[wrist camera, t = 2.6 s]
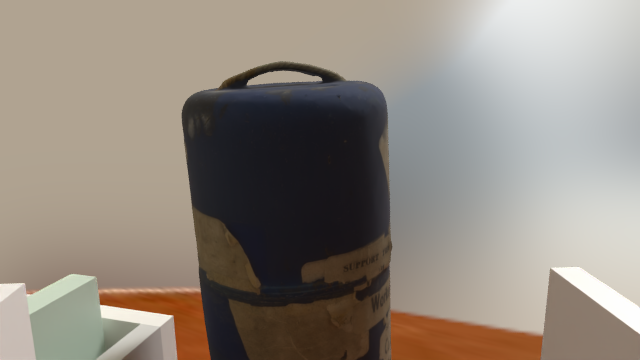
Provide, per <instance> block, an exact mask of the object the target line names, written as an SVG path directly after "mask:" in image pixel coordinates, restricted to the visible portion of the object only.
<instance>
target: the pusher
mask: <svg viewBox="0 0 640 360" xmlns="http://www.w3.org/2000/svg"><path fill="white" fill-rule="evenodd" d="M27 302H28V309H29V316H30V322H31V329H32V336H33V343H34V349H35V356H36V360H96V359H97V358H98V357H99V356H101V355H102V354H103V353H105V352H106V348H105V340H104V333H103V325H102V317H101V309H100V302H99V294H98V286H97V279H96V277H92V276H84V275H77V274H70V275H68V276H67V277H65V278H63V279H61V280H59V281H57V282H55V283H53V284H51V285H49V286H47V287H45V288H44V289H42V290H40V291H38V292H36V293H34V294H32V295H30V296H28V297H27Z"/></svg>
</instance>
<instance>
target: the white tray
mask: <svg viewBox="0 0 640 360" xmlns="http://www.w3.org/2000/svg"><path fill="white" fill-rule="evenodd" d="M26 296H27V297H28V296H30V295H29V294H26ZM100 309H101V317H102V325H103V333H104V340H105V348H106V352H105V353H103V354H102V355H101V356H99V357H98V358H97V359H96V360H177V352H176V341H175V330H174V319H173V316H171V315H164V314H157V313H150V312H144V311H137V310H130V309H124V308H117V307H110V306H103V305H100Z"/></svg>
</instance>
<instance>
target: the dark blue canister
mask: <svg viewBox="0 0 640 360" xmlns="http://www.w3.org/2000/svg"><path fill="white" fill-rule="evenodd" d="M282 70H284V71H296V72H301V73H304V74H308V75H312V76H319V77H321V78H322V81H317V82H292V83H273V84H272V83H271V84H259V85H250V86H247V82H248V80H250V79H252V78H254V77H256V76H258V75H261V74H264V73H267V72H273V71H282ZM387 114H388V113H387V105H386V101H385V98H384V95H383V93H382V92H381V90H380V89H379V88H378V87H376V86H374V85H373V84H370V83H367V82H362V81H346V80H345V79H344V78H343V77H342V76H340V75H339V74H337V73H335V72H332V71H330V70H326V69H323V68H320V67H316V66H313V65H308V64H301V63H294V62H283V61H282V62H275V63H270V64H266V65H262V66H259V67H256V68H253V69H250V70H248V71H246V72H243V73H241V74H238V75H236V76H233V77H231V78H229V79H227V80H225V81H224V82H223V83H222V85H221V86H220V87H219V88H216V89H209V90H204V91H200V92H197V93H195V94H193V95H192V96H190V97H189V98H188V99H187V101H186V102H185V104H184V106H183V110H182V125H183V132H184V144H185V152H186V159H187V167H188V175H189V182H190V183H189V184H190V191H191V200H192V210H193V218H194V227H195V235H196V241H197V250H198V260H199V278H200V287H201V295H202V303H203V310H204V318H205V325H206V331H207V338H208V344H209V350H210V356H211V360H391V321H390V270H389V263H390V258H391V250H392V243H391V234H390V191H389V151H388V115H387Z"/></svg>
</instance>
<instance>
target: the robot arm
mask: <svg viewBox="0 0 640 360" xmlns="http://www.w3.org/2000/svg"><path fill="white" fill-rule="evenodd" d="M0 360H36V356H35V349H34V343H33V336H32V329H31V322H30V316H29V309H28V302H27V296H26V289H25V284H24V283H23V284H22V283H20V284H0ZM541 360H640V307H638V306H637V305H635V304H634V303H632V302H631V301H629V300H628V299H626V298H625V297H623V296H622V295H620V294H619V293H617V292H616V291H614V290H613V289H611V288H610V287H608V286H607V285H605V284H604V283H602V282H601V281H599V280H598V279H596V278H595V277H593V276H592V275H590V274H589V273H587V272H585V271H584V270H583V269H581V268H580V267H566V268H565V267H564V268H550V276H549V286H548V296H547V305H546V314H545V324H544V333H543V343H542V353H541Z"/></svg>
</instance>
